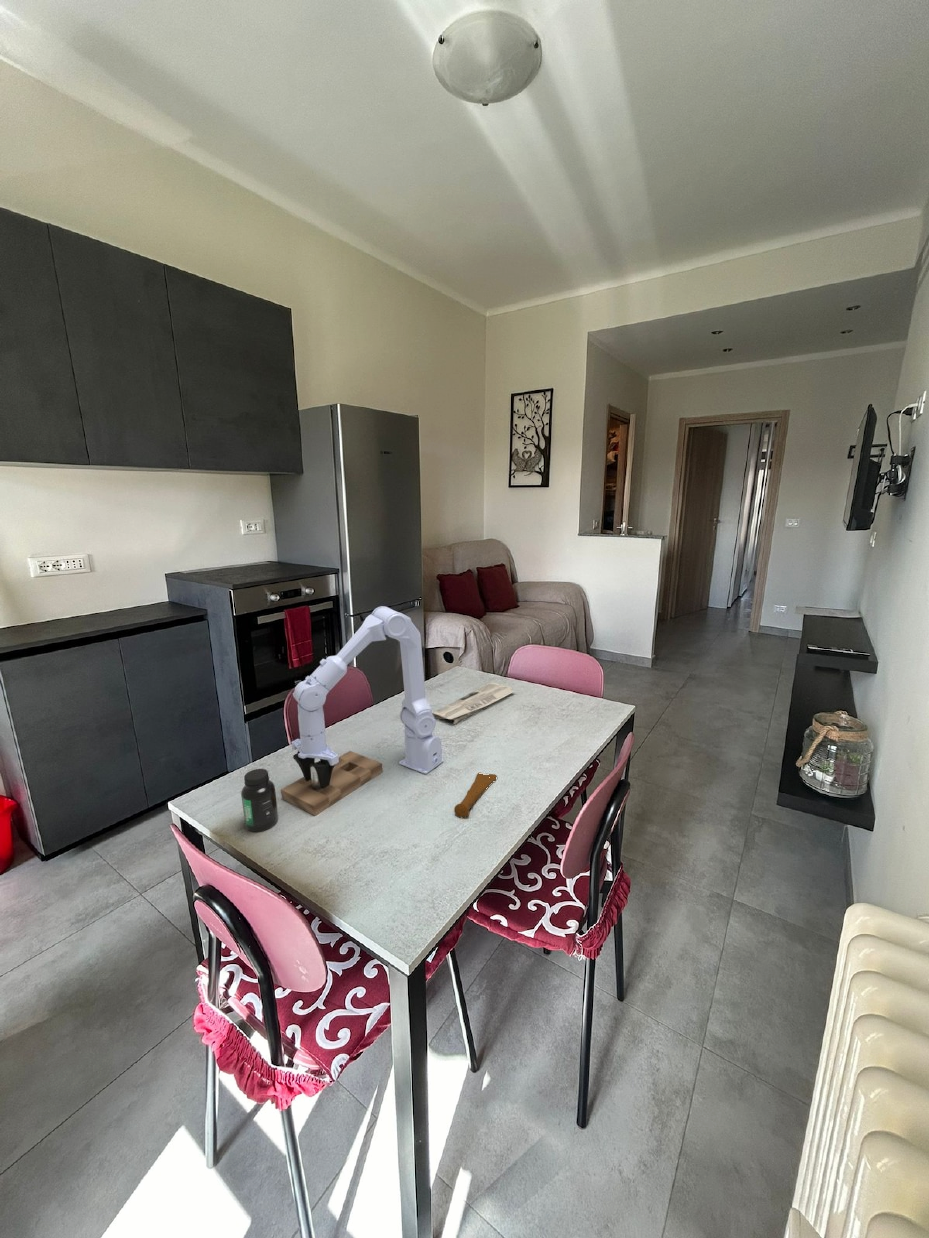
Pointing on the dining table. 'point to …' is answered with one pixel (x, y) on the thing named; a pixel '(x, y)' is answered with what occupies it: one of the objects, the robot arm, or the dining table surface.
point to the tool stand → (333, 783)
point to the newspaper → (473, 702)
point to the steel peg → (314, 778)
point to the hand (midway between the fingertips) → (317, 782)
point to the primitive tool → (474, 794)
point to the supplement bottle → (259, 801)
